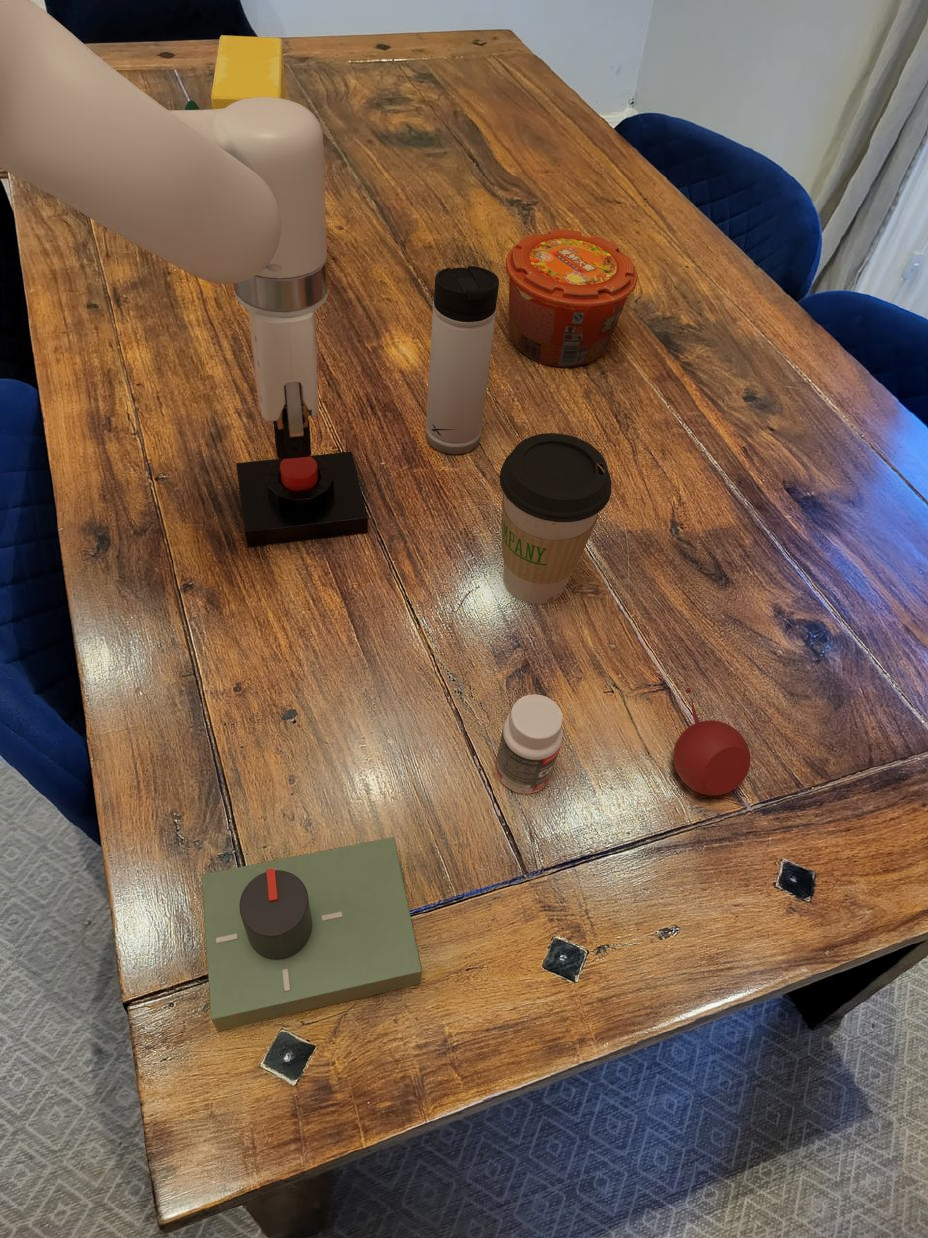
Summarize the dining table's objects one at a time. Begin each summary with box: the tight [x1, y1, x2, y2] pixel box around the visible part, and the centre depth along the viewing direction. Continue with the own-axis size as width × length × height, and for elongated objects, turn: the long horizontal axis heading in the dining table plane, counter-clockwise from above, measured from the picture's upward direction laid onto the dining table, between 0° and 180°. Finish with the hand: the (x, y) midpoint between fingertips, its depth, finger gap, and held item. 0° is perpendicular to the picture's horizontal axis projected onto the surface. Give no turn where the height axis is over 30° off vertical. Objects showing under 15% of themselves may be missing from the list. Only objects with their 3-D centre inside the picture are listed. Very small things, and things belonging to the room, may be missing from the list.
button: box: [280, 455, 318, 491], centre depth 87 cm, size 4×4×2 cm
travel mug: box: [424, 265, 500, 455], centre depth 91 cm, size 6×7×20 cm
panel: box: [201, 836, 423, 1032], centre depth 62 cm, size 14×10×3 cm
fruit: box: [673, 687, 751, 796], centre depth 73 cm, size 6×6×8 cm
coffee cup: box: [499, 432, 613, 605], centre depth 81 cm, size 10×10×15 cm
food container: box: [505, 229, 639, 368], centre depth 108 cm, size 16×16×11 cm
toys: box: [184, 34, 287, 110], centre depth 108 cm, size 18×12×24 cm
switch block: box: [235, 451, 369, 548], centre depth 89 cm, size 12×10×4 cm
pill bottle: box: [495, 693, 564, 795], centre depth 70 cm, size 5×5×8 cm
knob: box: [239, 869, 312, 960], centre depth 59 cm, size 4×4×5 cm
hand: (293, 452), depth 84 cm, fingers closed
